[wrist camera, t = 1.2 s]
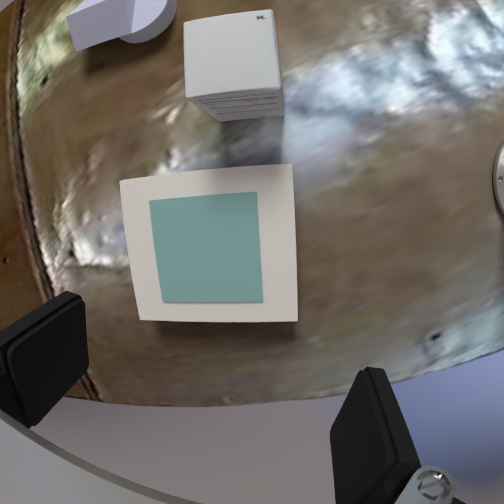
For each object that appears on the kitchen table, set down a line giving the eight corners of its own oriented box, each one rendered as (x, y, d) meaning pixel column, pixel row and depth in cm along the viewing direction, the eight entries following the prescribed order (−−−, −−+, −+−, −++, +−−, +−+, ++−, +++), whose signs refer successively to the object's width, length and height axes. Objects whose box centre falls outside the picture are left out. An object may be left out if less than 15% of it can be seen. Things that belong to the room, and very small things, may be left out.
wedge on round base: (89, 58, 32) (175, 35, 31) (61, 45, 26) (154, 12, 24) (96, 8, 30) (178, -16, 28) (71, -9, 23) (161, -41, 22)
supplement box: (216, 65, 31) (181, 19, 19) (280, 59, 30) (275, 6, 18) (218, 123, 33) (182, 99, 21) (285, 119, 32) (283, 88, 20)
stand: (291, 165, 33) (291, 163, 28) (296, 302, 37) (297, 322, 32) (139, 179, 35) (118, 180, 30) (156, 303, 39) (139, 320, 34)
